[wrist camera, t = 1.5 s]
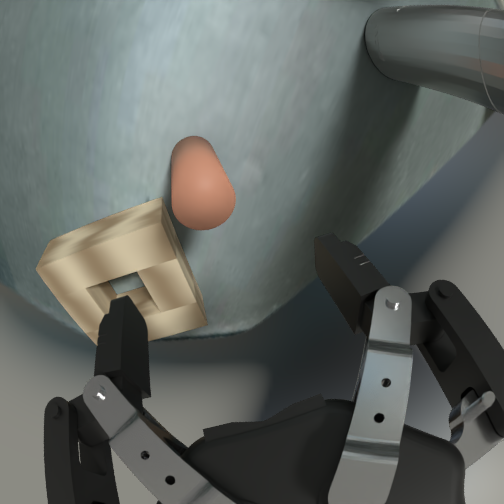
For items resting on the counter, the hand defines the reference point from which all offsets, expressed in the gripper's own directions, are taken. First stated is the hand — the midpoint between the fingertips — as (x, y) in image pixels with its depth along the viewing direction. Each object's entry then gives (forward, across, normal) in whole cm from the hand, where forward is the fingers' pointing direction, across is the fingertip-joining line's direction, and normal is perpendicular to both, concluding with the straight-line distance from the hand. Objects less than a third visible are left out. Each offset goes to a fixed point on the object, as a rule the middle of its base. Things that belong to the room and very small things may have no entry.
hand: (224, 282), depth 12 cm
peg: (+18, 0, 0) cm, 18 cm away
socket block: (+18, +11, +10) cm, 23 cm away
